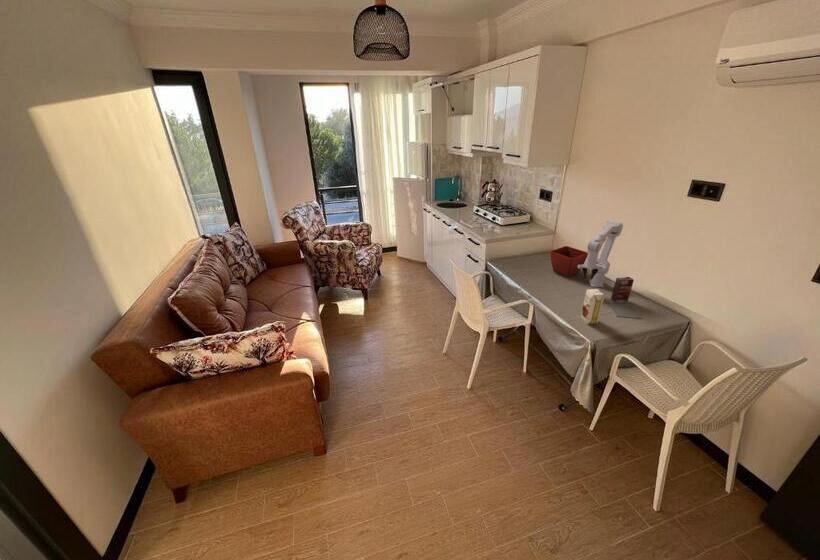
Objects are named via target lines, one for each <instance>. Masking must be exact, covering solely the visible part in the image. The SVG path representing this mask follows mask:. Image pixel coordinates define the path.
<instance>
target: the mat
mask: <svg viewBox="0 0 820 560" xmlns="http://www.w3.org/2000/svg"><path fill="white" fill-rule="evenodd" d="M608 304H609V306H610V307H611V309H612V310H613V312H614V314H615V316H616V317H618V318H627V319H628V318H629V319H640V320H642V319H643V317H642V315H641V314H640V312H639V311H638V309H637V308H636V307H635V305H634V304H631V303H614V302H609V303H608Z"/></svg>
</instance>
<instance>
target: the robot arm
mask: <svg viewBox="0 0 820 560" xmlns="http://www.w3.org/2000/svg"><path fill="white" fill-rule="evenodd" d="M623 226H624V225H623V223H622V222H614V221H609V220H606V221H605V222H604V224H603V227H602V228H603V230H602V232H601V233H600V234H598V235H596V237H595V238H594V239H593V240H591V241H589V242H588V244H587V251H586V252H588V256H587V258H586V261H585V263H584V265H578V269H580V268H581V270H582V273H583V279H584V280H586V279H587V274H588V269H589V270H591V275H590V277H589V278H590V279H589V280H588V283H589V284H590V286H591V287H592V288H593V287H594V288H597V287H598V288H604V287H605V285H604V279H605V275H607V274H608V273H609V270H610V266H611V264H610V261H608V258H609V256H610V253H611V251H612V248H613V245H614V243H615V241H616V238H617V237H620V235H621V233H622V231H623V228H624V227H623ZM603 244H604V245H603ZM602 247H603V248H602ZM601 250H602V251H601ZM600 251H601V253H600V255H599V252H600ZM598 256H599V258H598Z"/></svg>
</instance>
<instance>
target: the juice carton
mask: <svg viewBox="0 0 820 560" xmlns="http://www.w3.org/2000/svg"><path fill="white" fill-rule="evenodd" d="M604 299H605V294H604V293H602V292H601V291H600V290H599V289H598V288H593V289H592V288H591V289H589V288H588V289H586V292H585V295H584V300H583V304H582V305H583V306H582V310H581V315H580V318H581V320H582V321H583V322H584V323H585V324H586V325H595V324H598V323H599V319H600V315H601V312H602V311H601V310H602V308H603V303H604Z"/></svg>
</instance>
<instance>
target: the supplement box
mask: <svg viewBox="0 0 820 560" xmlns="http://www.w3.org/2000/svg"><path fill="white" fill-rule="evenodd" d="M634 280H635V279H633V278H631V277H630V276H625V277H616V278H615V283H614V286H613V290H612V293H611V297H610V301H611V302H612V303H620V304H624V303H628V301H629V298H630V295H631V291H632V288H633V283H634Z"/></svg>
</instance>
